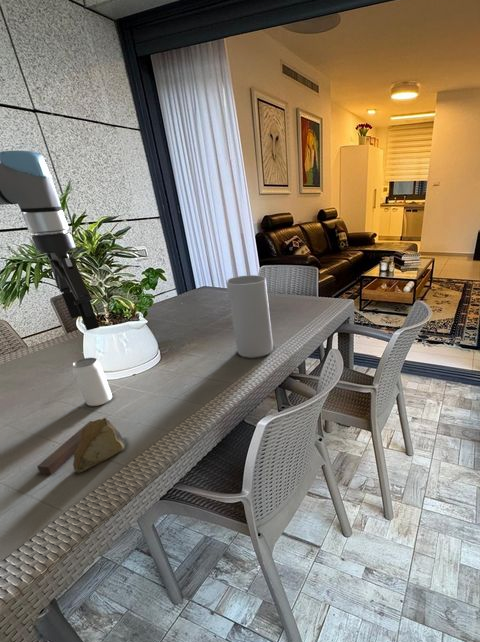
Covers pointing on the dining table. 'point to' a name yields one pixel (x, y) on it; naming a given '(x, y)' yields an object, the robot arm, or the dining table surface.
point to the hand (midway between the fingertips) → (84, 322)
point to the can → (92, 381)
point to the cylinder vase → (250, 315)
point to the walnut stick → (61, 454)
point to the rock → (97, 444)
